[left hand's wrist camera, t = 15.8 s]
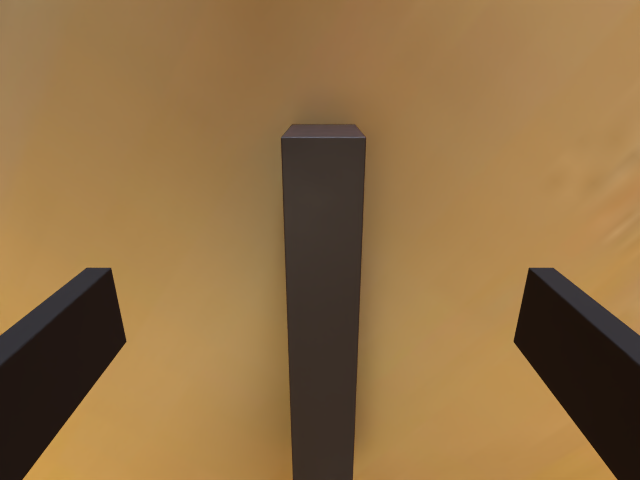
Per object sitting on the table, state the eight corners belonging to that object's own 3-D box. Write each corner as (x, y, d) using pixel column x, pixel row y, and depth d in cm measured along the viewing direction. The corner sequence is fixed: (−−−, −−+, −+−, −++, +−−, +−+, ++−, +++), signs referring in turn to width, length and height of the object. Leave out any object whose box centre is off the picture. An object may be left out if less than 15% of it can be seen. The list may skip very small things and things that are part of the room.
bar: (291, 124, 33) (280, 137, 25) (355, 124, 33) (366, 137, 25) (299, 446, 46) (294, 527, 38) (345, 446, 46) (350, 527, 38)
